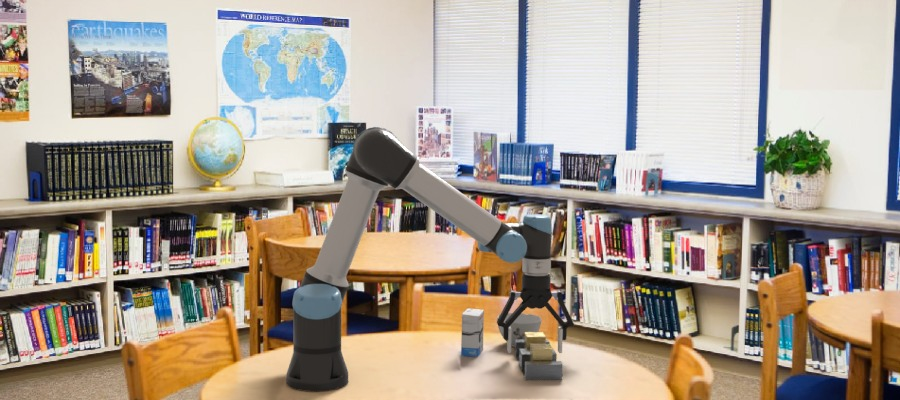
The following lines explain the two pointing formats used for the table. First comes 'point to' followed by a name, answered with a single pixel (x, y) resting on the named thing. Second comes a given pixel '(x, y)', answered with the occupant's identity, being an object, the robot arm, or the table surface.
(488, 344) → the table surface
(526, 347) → the tan square-edged block
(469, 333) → the ink box
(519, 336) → the teacup
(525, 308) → the robot arm
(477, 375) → the table surface
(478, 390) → the table surface
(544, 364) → the rail
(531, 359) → the wooden cube
